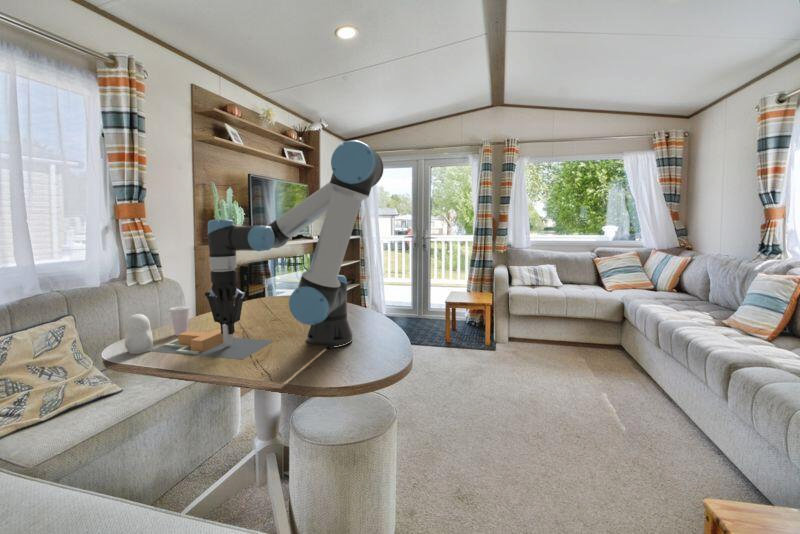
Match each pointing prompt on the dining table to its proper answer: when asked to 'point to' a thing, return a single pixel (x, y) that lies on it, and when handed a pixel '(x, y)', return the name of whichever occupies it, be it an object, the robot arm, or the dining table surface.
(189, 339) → the t block
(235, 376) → the dining table surface
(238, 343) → the mat
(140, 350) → the figurine
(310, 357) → the dining table surface
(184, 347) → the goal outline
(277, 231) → the robot arm
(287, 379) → the dining table surface
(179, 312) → the smoothie
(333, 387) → the dining table surface
